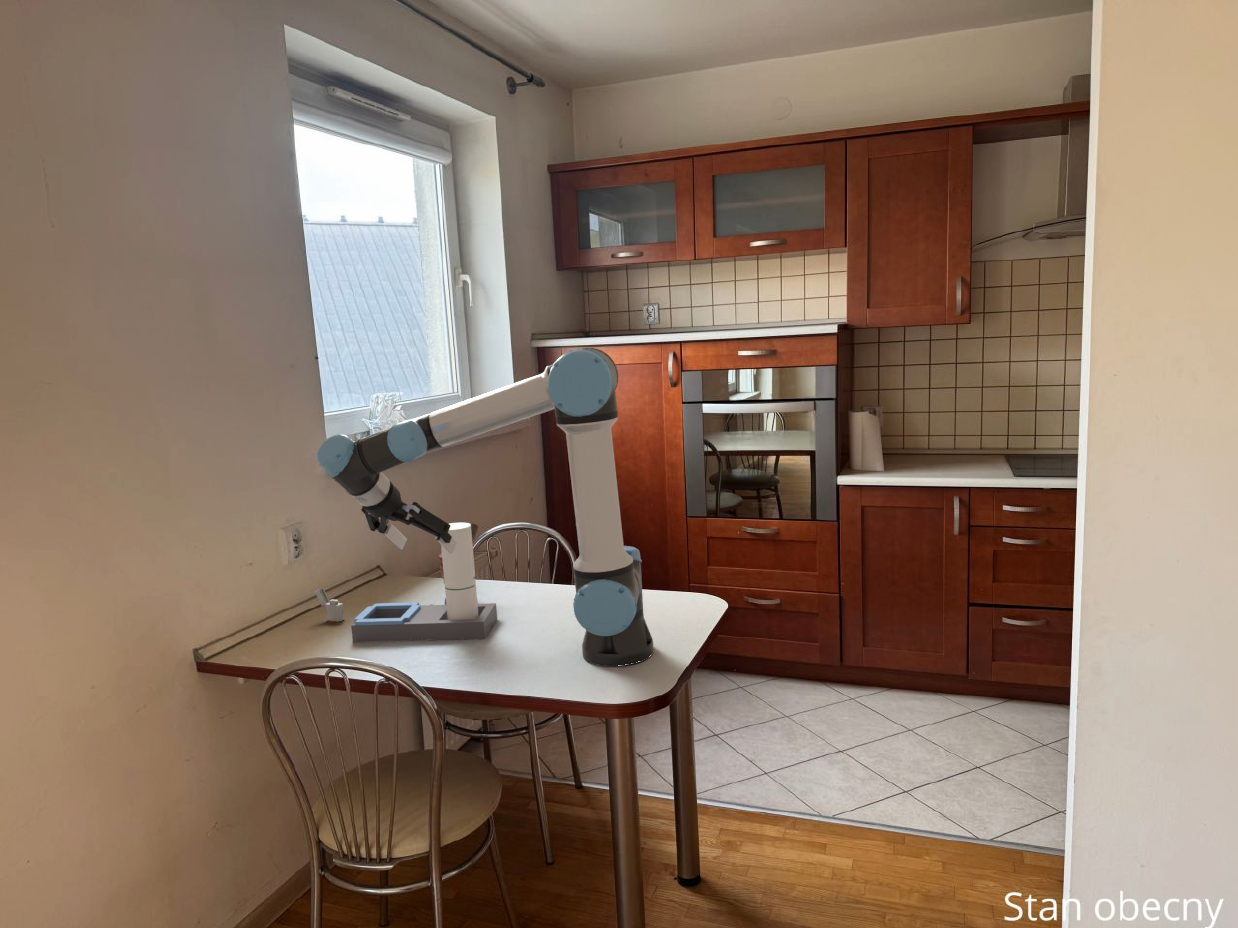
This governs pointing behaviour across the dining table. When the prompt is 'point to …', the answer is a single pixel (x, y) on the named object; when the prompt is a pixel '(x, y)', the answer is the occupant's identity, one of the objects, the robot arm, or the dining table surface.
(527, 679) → the dining table surface
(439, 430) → the robot arm
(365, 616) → the socket rack
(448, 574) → the cylindrical container
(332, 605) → the lighter
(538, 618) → the dining table surface
